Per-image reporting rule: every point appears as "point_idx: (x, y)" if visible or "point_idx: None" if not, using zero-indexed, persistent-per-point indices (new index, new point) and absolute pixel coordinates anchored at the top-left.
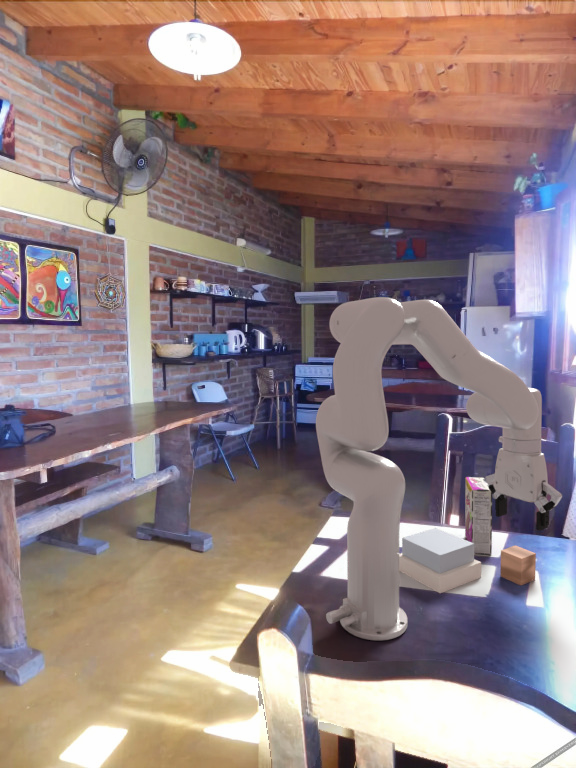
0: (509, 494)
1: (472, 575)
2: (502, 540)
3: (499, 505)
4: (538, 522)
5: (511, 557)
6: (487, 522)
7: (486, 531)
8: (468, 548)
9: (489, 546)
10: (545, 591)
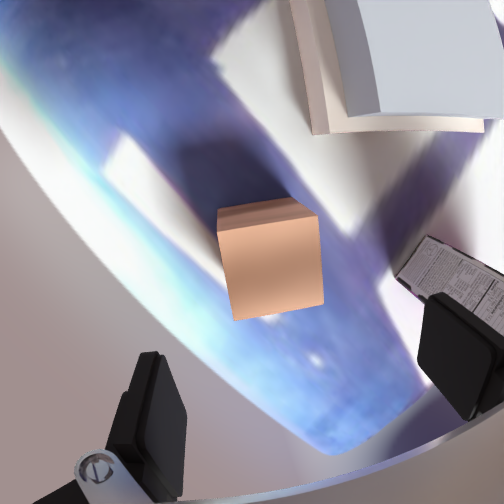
0: (459, 451)
1: (311, 91)
2: None
3: (468, 339)
4: (136, 385)
5: (264, 220)
6: None
7: None
8: (368, 75)
9: (410, 282)
10: (163, 248)
